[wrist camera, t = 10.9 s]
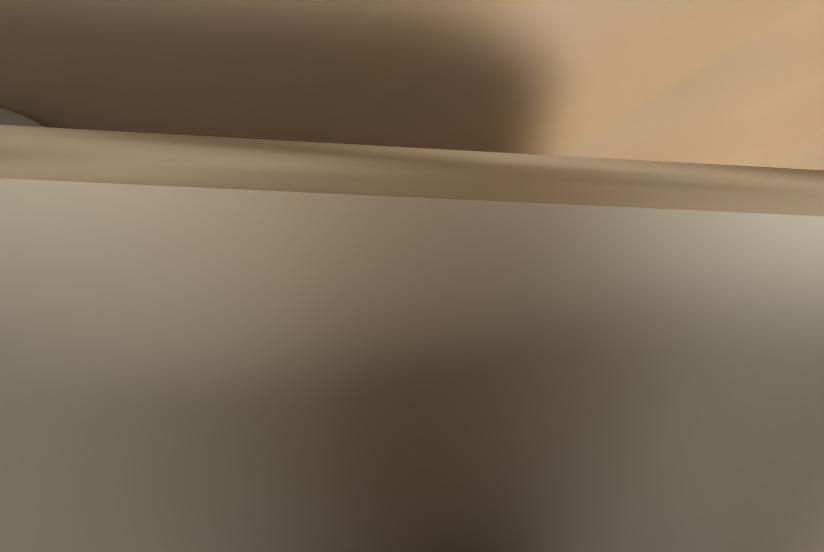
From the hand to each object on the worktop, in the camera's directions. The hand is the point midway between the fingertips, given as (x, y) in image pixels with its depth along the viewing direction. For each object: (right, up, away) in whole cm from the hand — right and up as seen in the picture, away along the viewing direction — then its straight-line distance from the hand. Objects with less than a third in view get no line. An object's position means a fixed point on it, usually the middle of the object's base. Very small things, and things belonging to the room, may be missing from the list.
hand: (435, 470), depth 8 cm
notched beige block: (-3, +5, +2) cm, 6 cm away
